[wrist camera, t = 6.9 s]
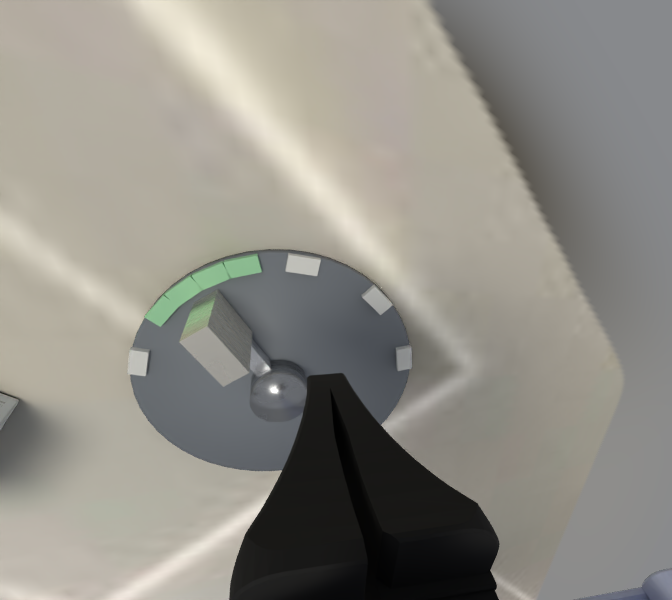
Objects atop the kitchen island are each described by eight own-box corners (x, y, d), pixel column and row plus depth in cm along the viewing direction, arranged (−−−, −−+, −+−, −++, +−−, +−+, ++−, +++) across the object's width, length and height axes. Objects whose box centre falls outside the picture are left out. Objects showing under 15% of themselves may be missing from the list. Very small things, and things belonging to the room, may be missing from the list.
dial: (379, 460, 31) (382, 469, 30) (146, 468, 27) (143, 479, 27) (437, 260, 23) (443, 266, 22) (114, 235, 19) (107, 241, 18)
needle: (315, 386, 25) (322, 430, 22) (270, 410, 25) (270, 456, 22) (232, 280, 20) (225, 316, 17) (178, 311, 21) (161, 351, 18)
